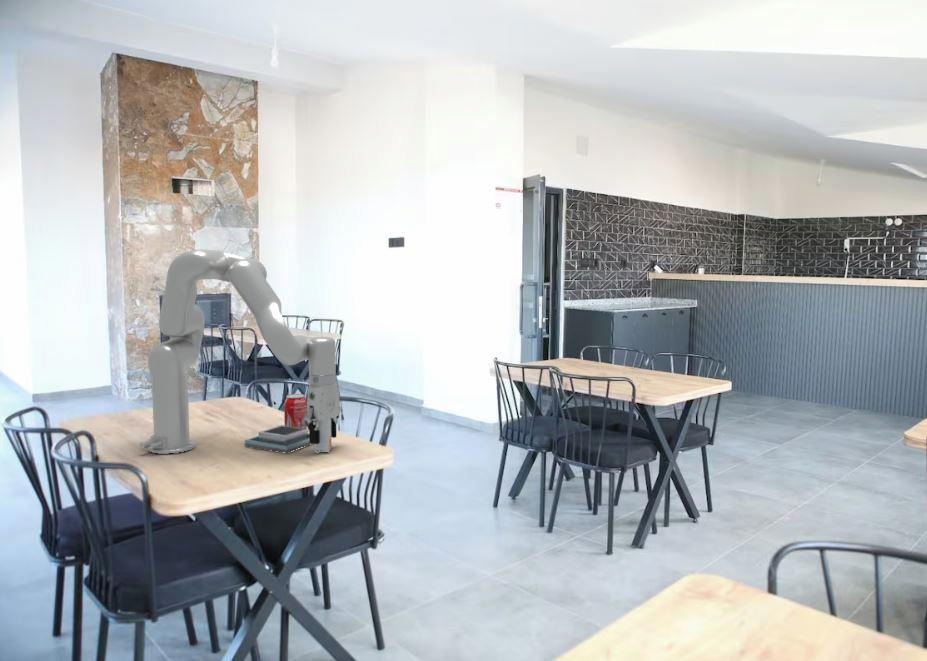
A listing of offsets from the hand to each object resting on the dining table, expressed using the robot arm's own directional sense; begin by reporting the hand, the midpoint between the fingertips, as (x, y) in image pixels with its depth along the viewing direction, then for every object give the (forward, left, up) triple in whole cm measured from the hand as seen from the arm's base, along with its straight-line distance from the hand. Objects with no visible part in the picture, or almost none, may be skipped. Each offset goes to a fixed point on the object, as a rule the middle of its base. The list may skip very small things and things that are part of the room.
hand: (323, 439), depth 196 cm
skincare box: (0, 0, -3) cm, 3 cm away
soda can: (+13, +21, -4) cm, 25 cm away
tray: (0, +15, -3) cm, 15 cm away
